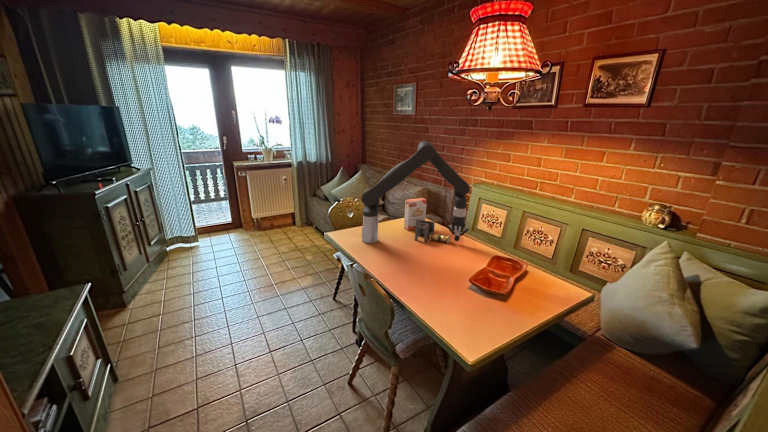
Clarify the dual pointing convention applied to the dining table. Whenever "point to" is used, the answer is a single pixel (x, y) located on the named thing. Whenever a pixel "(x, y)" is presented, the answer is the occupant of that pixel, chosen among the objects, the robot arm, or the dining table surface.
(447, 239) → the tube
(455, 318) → the dining table surface
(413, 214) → the cracker box
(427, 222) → the dark grey legged block
